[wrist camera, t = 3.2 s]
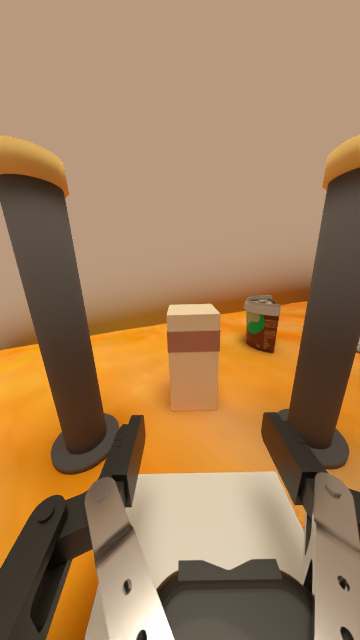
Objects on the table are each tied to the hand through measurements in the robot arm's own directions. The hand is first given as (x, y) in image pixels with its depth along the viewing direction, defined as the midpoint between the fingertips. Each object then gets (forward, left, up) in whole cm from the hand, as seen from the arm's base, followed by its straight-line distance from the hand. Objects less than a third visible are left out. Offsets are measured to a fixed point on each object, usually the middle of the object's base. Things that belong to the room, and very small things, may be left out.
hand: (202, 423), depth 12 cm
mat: (0, +7, -6) cm, 10 cm away
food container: (-16, -28, -7) cm, 33 cm away
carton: (0, -11, -7) cm, 13 cm away
